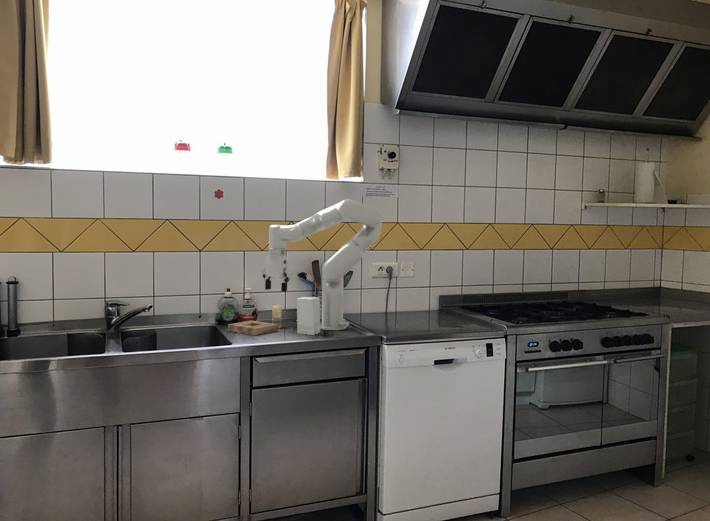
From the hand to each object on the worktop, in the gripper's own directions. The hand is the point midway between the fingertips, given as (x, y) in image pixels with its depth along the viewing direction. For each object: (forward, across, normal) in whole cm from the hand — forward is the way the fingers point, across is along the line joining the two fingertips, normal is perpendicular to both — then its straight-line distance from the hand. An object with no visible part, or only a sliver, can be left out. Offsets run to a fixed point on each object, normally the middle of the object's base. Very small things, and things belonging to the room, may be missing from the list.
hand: (276, 290), depth 269 cm
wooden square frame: (+17, +1, +12) cm, 21 cm away
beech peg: (+17, -1, 0) cm, 17 cm away
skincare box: (+17, -21, +2) cm, 27 cm away
